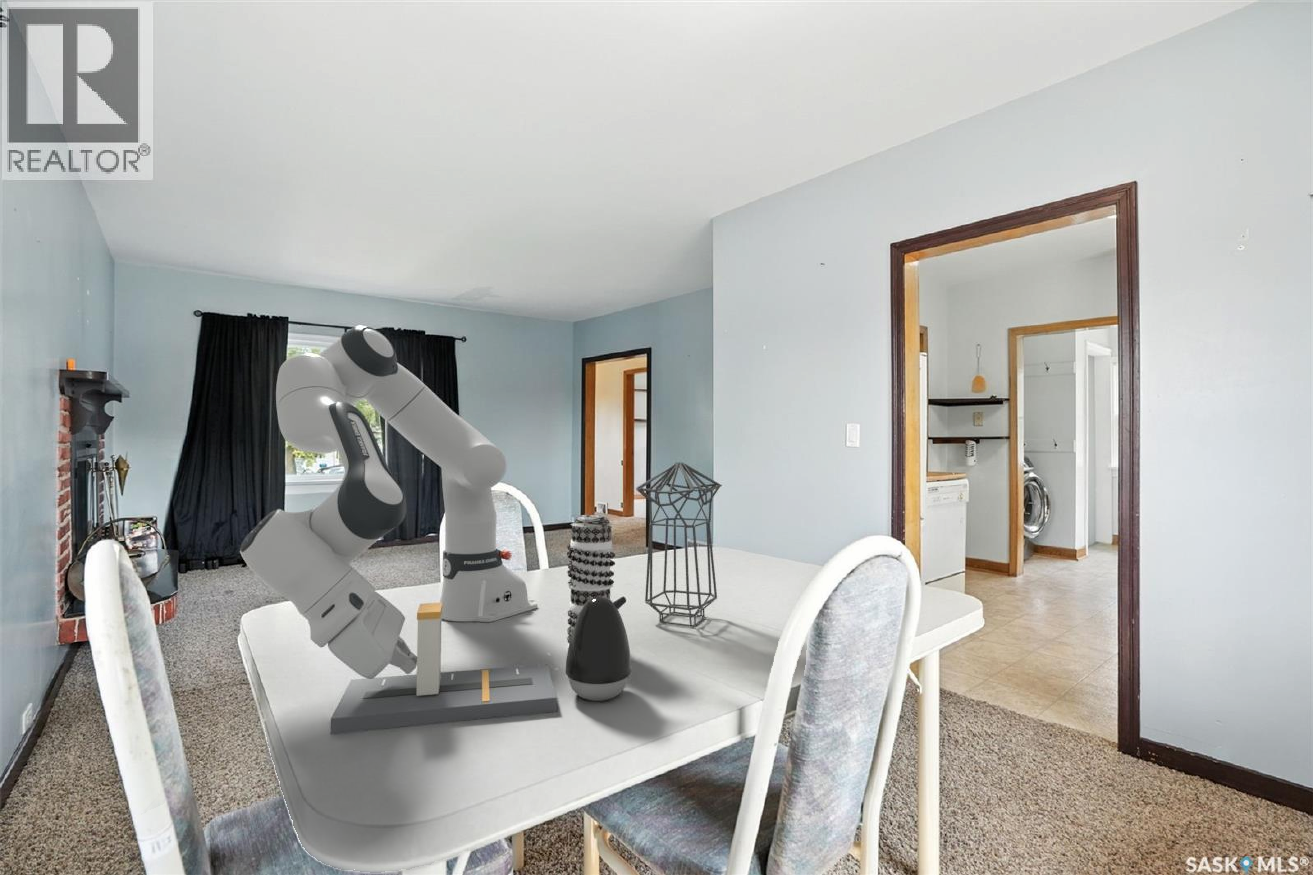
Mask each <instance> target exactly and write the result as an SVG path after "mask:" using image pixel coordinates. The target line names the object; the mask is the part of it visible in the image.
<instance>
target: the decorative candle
mask: <svg viewBox="0 0 1313 875" xmlns="http://www.w3.org/2000/svg"><path fill="white" fill-rule="evenodd" d="M570 526H571V539H570V544H569V545H567V546H566V548H567V550H568V551H567V552H566V555H567V558H568V559H570V560H568V562H567V567H568V569H569V570H567V572H566V573H567V577H568V578H569V580H568V581H567V584H568V588H569V589H570V601H569V610H568V611H567V616H568V617H569V618H568V619H567V624H568V625H569V626H568V627H567V630H566V631H567V637H566V641H567V643H568V644H567V648H568V647H569V642H570V638H571V635H572V631H573V628H574V625H575V623H576V620H577V617H578V615H579V613H580V611H581V609H582V608H583V606H584V605H585V603H586V602H587V601H588V600H590V599H592V598H594V597H599V596H601V597H606V598H608V599H610V600H611V588H612V587H614V583H615V581H614V580H613V579H612V578H613V576H614V575H615V573H614V571H612V570H611V568H612V567H613V566H615V565H616V562H615V561H613V558H615V557H616V553H614V552H613V551H611V549H612V548H613V540H612V526H614V523H611V522H610V520H609V518H608V517H607V516H605V515H602V514H583V515H578V516H577V517H576V518H575V520H574V521H573V522H572V523H570Z"/></svg>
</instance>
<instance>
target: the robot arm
mask: <svg viewBox="0 0 1313 875" xmlns="http://www.w3.org/2000/svg"><path fill="white" fill-rule="evenodd" d="M275 389H276V390H275V401H276V402H275V404H276V405H275V407H276V412H277V421H278V427H279V430H280V433H281V435H282V436H283V439H284V441H286V443H288V445H290V446H291V447H293V448H295V449H297V450H299V451H302V452H304V453H309V454H317V455H323V454H331V453H335V452H338V455H339V458H340V460H341V463H342V466H343V468H344V470H345V471H344V476H343V478H342V479H341V481H340V483H339V485H338V486H337V487H336V489H335V490H334V491H333V492H332V493H331V494H330V495H329V496H328V497H327V498H325V499H324V501H322V502H321V503H320V504H319V505H318V506H317V507H315V508H311V509H308V510H304V511H298V512H289V511H285V510H283V509H281V508H278V509H275V510H272V511H270V512H269V513H268V514H266V515H265V516H264V517H263V518H262V519H261V520H260V521H259V522H258V524H257V525H255V527H254V528H252V530H251V531H250V532H249V533H248V534H247V535H246V536H245V537H244V539H243V541H241V543H240V548H239V553H240V555H241V557H242V559H243V560H244V562H245V563H246V565H247V566H248V568H249V569H250V570H251V571H252V572H253V573H254V574H255V575H256V576H257V577H258V578H259V579H260V580H261V581H262V582H263V583H265V585H266V586H267V587H269V588H270V589H271V590H272V591H273V592H274V593H275V594H277V595H279V596H281V597H283V598H286V599H287V600H289V601H290V602H291V603H292V604H293V605H294V606H295V608H296V610H297V612H298V613H299V614H300V615H301V616H302V617H303V618H305V620H307V621H308V625H309V630H310V631H309V632H310V634H309V635H310V639H311V641H312V642H313V644H315V645H317V646H318V647H320V648H324V647H326V646H327V647H328V648H327V649H328V650H329V651H330V652H331V653H332V655H334V656H335V658H337V659H338V660H340V662H342V663H343V664H345V665H346V666H347V667H348V668H350V669H351V670H352V671H353V672H355V673H356V674H358V675H359V676H361V677H363V678H364V679H366V678H368V679H373V678H377V676H379V674H380V673H381V672H382V671H383V670H384V669H385V668H386V667H388V665H392V666H394V667H396V668H399V669H400V670H401V671H402V672H404V674H405V675H411V673H412V672H414V670H416V669H417V655H416V654H414V652H412V651H411V649H410V647H409V646H408V644H407V643H406V642H405V640H404V639H403V638H402V637H401V636H400V635H401V632H402V629H403V626H404V623H405V621H406V617H405V615H404V614H403V612H402V611H401V610H400V609H399V608H398V607H396V606H395V605H394V604H393V603H392V602H390V601H389V600H388V599H386V598H385V597H384V596H383V595H381V594H380V593H379V592H378V591H376V590H377V588H376V587H375V586H374V585H373V584H372V583H371V582H370V581H369V580H367V578H366V577H364V576H363V575H362V573H360V572H359V571H358V570H357V569H355V568H354V567H353V566H352V565H351V562H353V561H355V559H357V558H358V557H359V556H360V555H361V554H363V553H364V552H366V551H367V550H368V549H369V548H371V546H372V545H373V544H375V543H376V542H377V541H378V540H379V539H380V538H382V537H384V536H386V535H387V534H388V533H390V532H392V531H393V530H394V529H396V528H397V527H398V526H400V525H401V524H402V523H403V521H404V520H405V517H406V513H407V501H406V496H405V493H404V490H403V488H402V487H401V485H400V483H399V482H398V481H397V479H396V478H395V476H394V475H393V474H392V472H391V471H390V469H389V466H388V464H387V462H386V460H385V457H384V455H383V452H382V451H381V448H380V446H379V442H378V441H377V439H376V436H375V434H374V432H373V430H372V428H371V426H370V423H369V422H368V420H367V419H366V416H365V415H364V413H363V412H361V410H359V408H357V407H356V406H355V405H357V404H358V403H360V402H361V401H362V400H363V399H365V400H366V401H367V403H369V405H370V406H371V407H372V408H373V409H374V410H375V412H377V413H378V415H379V416H380V417H382V418H383V419H384V420H385V421H386V422H387V423H388V424H389V425H390V426H391V427H392V428H393V429H394V430H396V431H397V432H398V433H399V434H400V435H401V436H402V437H404V439H405V440H407V441H408V442H409V443H410V444H411V445H412V446H414V447H415V449H417V450H418V451H420V452H421V453H423V454H424V455H425V456H426V457H428V458H429V459H430V460H432V461H433V462H434V463H435V464H436V465H438V466H439V467H440V468H441V484H442V495H443V504H444V516H445V525H444V528H445V529H444V532H445V534H444V537H445V538H444V550H443V551H442V566H441V568H442V570H441V571H442V577H443V580H442V586H441V587H442V588H441V593H440V594H441V595H440V599H439V603H442V618H441V620H444V621H445V620H446V621H452V622H482V623H483V622H484V623H490V622H495V621H499V620H501V619H502V620H503V619H505V618H508V617H512V616H514V615H518V614H521V613H525V612H527V611H531V610H534V609H537V608H538V602H537V601H536V600H535V599H533V598H531V597H529V596H528V588H527V585H526V582H525V580H524V579H523V578H522V577H520V576H519V575H518V574H516V572H514V571H512V570H511V569H510V568H509V567H508V566H505V564H504V562H503V560H506V561H509V560H511V559H512V552H511V551H509V550H505V549H504V550H502V551H501V550H500V549H498V548H497V512H496V509H495V505H494V504H495V503H494V498H493V491H492V488H493V487H494V486H496V485H498V484H499V483H500V482H501V481H502V480H503V478H504V476H505V474H506V472H507V460H506V457H505V454H504V453H503V452H502V451H501V449H499V447H497V446H496V445H495V444H494V443H493V442H492V441H490V440H489V439H488V438H487V437H485V435H483V434H482V433H481V432H480V431H479V430H477V428H475V427H474V426H472V425H471V424H470V423H468V422H467V421H466V420H465V419H464V418H462V417H461V416H460V415H458V414H457V413H456V412H455V411H453V409H451V408H450V407H449V406H448V405H447V404H446V403H445V402H443V400H442V399H441V398H439V396H437V394H436V393H434V392H433V391H432V389H430V388H429V387H428V386H427V385H426V384H425V383H424V382H423V381H422V380H420V379H419V377H417V376H416V374H413V373H412V372H411V371H410V370H408V369H407V368H405V367H404V366H403V365H402V364H400V363H399V362H398V358H397V353H396V350H395V348H394V346H393V344H392V343H391V341H390V340H389V338H387V336H385V335H384V334H383V333H382V332H380V331H379V330H377V329H376V328H374V327H369V326H365V325H357V326H354V327H351V328H349V330H347V331H346V332H344V333H343V334H342V335H341V337H340V338H338V339H337V340H336V341H334V342H332V343H331V344H330V345H329V346H327V347H326V348H325V349H324V350H323V351H321V352H320V353H319V354H315V353H299V354H296V355H293V356H290V357H288V358H287V359H286V360H285V361H284V362H282V364H281V365H280V367H279V370H278V373H277V380H276V387H275Z"/></svg>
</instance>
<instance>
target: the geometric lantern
mask: <svg viewBox="0 0 1313 875" xmlns="http://www.w3.org/2000/svg"><path fill="white" fill-rule="evenodd" d="M679 470H680V471H681V473H682V476H683V478H684V480H685V484H686V485H681V484H675V481H676V479H677V475H678V471H679ZM697 475H698V476H697ZM699 476H700V477H701V478H703V479H705V480H706V481H708V482H709V483H707V484H705V482H704V481H702V479H701V478H699ZM659 477H660V478H659ZM657 478H659V479H657ZM656 479H657V480H656ZM690 479H691V480H692V481H693V482H694V484H695V485H696V486H693V483H692V482H691V480H690ZM654 480H656V482H654V483H653V484H652V485H651V486H650V487H649V488H646V486H649V485H648V484H650V483H652V482H653V481H654ZM670 482H671V483H670ZM710 482H711V483H710ZM665 486H667V487H668V488H669V490H663V489H664V488H665ZM722 486H723V485H722V484H720V483H719V482H717V481H715V480H714V479H711V477H708V476H707V475H705V474H703V473H701V472H700V471H698V470H697V469H694V468H693V467H691V466H689V465H688V464H686V463H685V462H682V461H680V462H678V461H677V462H675V463H674V464H672V465H670V466H668V467H667V468H666V469H664V470H663V471H661V472H660V473H658V474H656V475H655V476H653V477H652V478H650V479H648V480H646V481H645V482H643V483H642V484H640V485H638V486H636V488H635V490H636V491H637V492H638V493H639V494H640V495H642V496H643V497H644V498H645V499H646V500H648V502H649V527H648V528H649V529H648V543H647V544H648V546H647V563H646V576H645V577H646V581H645V583H646V584H645V597H644V602H645V604H647V605H648V606H649V607H651V608H652V609H653V610H654V611H655V612H657V613H658V614H659V616H658V622H660V623H662V624H669V625H677V626H685V627H689V628H690V627H691V628H692V627H697V625H698V623H699V624H700V623H701V622H703V620H704V618H705V619H706V615H705V609H706V608H707V607H708V606H710V605H711V604H712V603H713V602H714V601H716V600H717V599H718V593H717V591H718V590H717V583H716V582H717V581H716V573H715V562H714V553H713V545H712V544H713V542H712V531H711V521H712V520H711V519H712V502H713V498H714V497H715V495H716V494H717V493H718V491H719V489H720V488H721V487H722ZM644 487H645V488H644ZM677 488H682V490H679V489H677ZM646 492H647V493H646ZM693 492H698V497H691V493H693ZM651 493H654V498H653V497H652V496H651ZM708 493H710V496H709V498H708ZM660 494H663V495H664V494H667V496H668V501H669V502H666V503H665V502H664V503H661V501H660V500H661V499H660ZM674 494H675V495H676V494H679V495H680V496H679V497H678V498H676V499H674V500H673V501H672V498H671V495H674ZM703 497H704V498H703ZM684 498H685V499H684ZM682 499H684V500H683V503H682V504H681V506H680V507H679V509H678V508H677V507H676V505H675V504H676V503H677V502H679V501H681V500H682ZM704 499H705V500H704ZM688 500H691V501H696V502H697V503H698V505H699V507H700V508H699V510H698V512H697V513H696V517H695V518H689V517H688V518H685V517H682V515H681V511H682V510H683V508H684V507H685V505H686V502H687V501H688ZM652 503H654V504H655V505H657V506H658V507H657V508H656V509H657V510H656V512H655V514H654V517H653V507H652ZM705 505H708V517H707V515H706V513H705V511H704V508H703V506H705ZM667 506H669V507H670V506H672V508H673V509H674V511H675V513H676V514H675V516H674V517H669V516H668V514H667V513H666V511H665V509H664V507H667ZM660 509H661V510H662V512H663V513H664V514H665V517H666V518H661V519H659V520H655V519H656V517H657V514H658V513H659V510H660ZM701 512H702V514H703V516H704V517H705V518H698V517H699V515H700V513H701ZM654 520H655V521H654ZM678 520H679V521H681V522H682V524H677V521H678ZM663 521H665V523H659V522H663ZM669 521H673V524H669ZM686 521H692V522H693V523H692V524H691V525H690V524H687V522H686ZM696 521H702V522H701V523H696ZM683 524H684V525H683ZM694 524H695V525H694ZM701 525H706V550H707V552H706V553H707V573H708V575H707V576H708V592H701V588H700V587H701V586H700V585H701V584H700V577H699V576H700V575H699V574H700V573H699V561H698V560H699V559H698V550H697V547H698V546H697V537H696V527H699V526H701ZM653 526H657V527H659V526H661V527H665V543H664V567H663V568H664V569H663V587H662V588H663V589H662V591H661V592H659V593H657V594H656V595H653V537H654V536H653V535H654V534H653V533H654V532H653V528H654V527H653ZM669 527H673V589H671V590H666V587H667V569H668V566H667V565H668V540H669V539H668V537H669ZM677 528H684V555H685V556H684V557H685V558H684V559H685V560H684V562H685V584H686V590H679V589H677ZM691 528H692V538H693V550H694V563H695V565H694V566H695V575H696V576H695V577H696V588H697V589H696V591H690V580H689V577H690V576H689V554H688V550H689V549H688V531H687V530H688V529H691ZM711 572H712V574H711ZM712 583H713V593H712ZM669 593H671V594H673V601H672V602H673V603H671V601H670V599H669V597H668V594H669ZM676 593H678V594H686V604H679V603H677V604H676ZM662 595H664V596H665V599H666V600H667V603H668V604H664V603H663V604H662V603H656V602H653V600H656V598H657V599H658V597H660V596H662ZM690 595H697V600H698V601H697V602H698V605H694V604H693V605H691V604H690ZM701 595H702V596H707V597H706V599H705V600H704V602H703V603H702V600H701V598H702V597H701ZM710 597H712V598H710ZM709 598H710V599H709ZM658 607H662V608H663V609H662V610H660V609H659V608H658ZM667 609H668V610H669V612H664V611H666V610H667ZM672 609H673V611H672ZM676 609H677V610H684V611H689V613H688V612H681V611H680V612H679V611H676ZM693 610H696V611H695V612H694V613H692V611H693ZM684 614H689V615H684ZM696 615H697V616H696ZM668 616H674V617H681V618H682V617H683V618H689V624H686V623H679V622H673V621H664V620H665V619H666V618H668ZM700 616H702V617H701V619H700V620H698V621H697V617H700ZM692 618H693V624H692Z"/></svg>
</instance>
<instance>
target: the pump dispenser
mask: <svg viewBox="0 0 1313 875" xmlns="http://www.w3.org/2000/svg"><path fill="white" fill-rule="evenodd" d="M626 602H627V598H626V597H624V596H621V597H619V598H618V599H616V600H615V601H612V600H611V598H610V599H608V598H606V597H601V596H599V597H594V598H592V599H590V600H588V601H587V602H586V603H585V605H584V606H583V608H582V609H581V611H580V613H579V615H578V617H577V620H576V623H575V625H574V628H573V631H572V635H571V638H570V642H569V643H568V644H569V647H568V646H567V652H566V653H567V655H566V660H565V674H566V676H567V678H568V683H569V684H570V688H571V689H572V690H573V692H574V693H575V694H576V695H578V696H579V697H581V698H583V699H585V700H587V701H593V702H600V701H608V700H611V699H612V698H615V697H617V696H618V695H619V694H620V693H621V692H622V691H623V690H624V689H625V687H626V684H627V683H628V679H629V677H630V675H631V673H632V659H631V658H632V657H631V649H630V643H629V639H628V638H629V637H628V634H627V631H626V628H625V624H624V621H623V618H622V615H621V614H620V611H619V609H620V608H621V607H622V606H624V605H625V604H626Z"/></svg>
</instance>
